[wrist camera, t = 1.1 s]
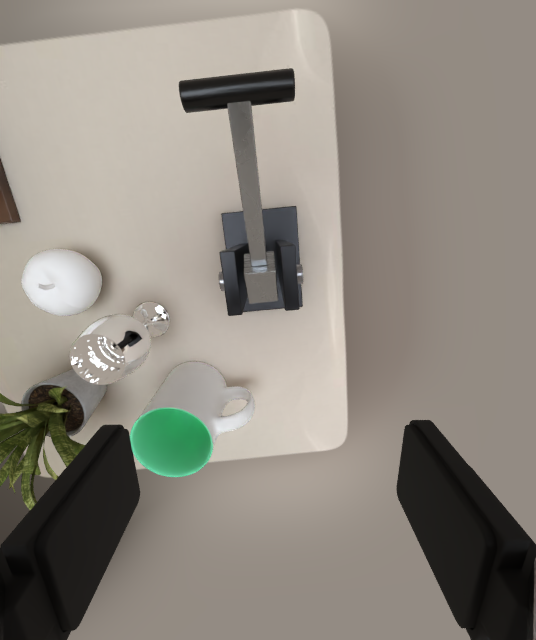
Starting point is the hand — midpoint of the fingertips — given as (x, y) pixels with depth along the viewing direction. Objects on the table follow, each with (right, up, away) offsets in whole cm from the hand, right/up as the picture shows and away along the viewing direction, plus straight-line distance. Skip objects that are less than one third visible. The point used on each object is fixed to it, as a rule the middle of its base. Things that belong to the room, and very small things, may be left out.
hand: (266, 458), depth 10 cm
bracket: (0, +11, +24) cm, 27 cm away
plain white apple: (-21, +10, +25) cm, 34 cm away
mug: (-7, -4, +29) cm, 30 cm away
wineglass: (-14, +5, +26) cm, 30 cm away
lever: (-1, +12, +9) cm, 15 cm away
